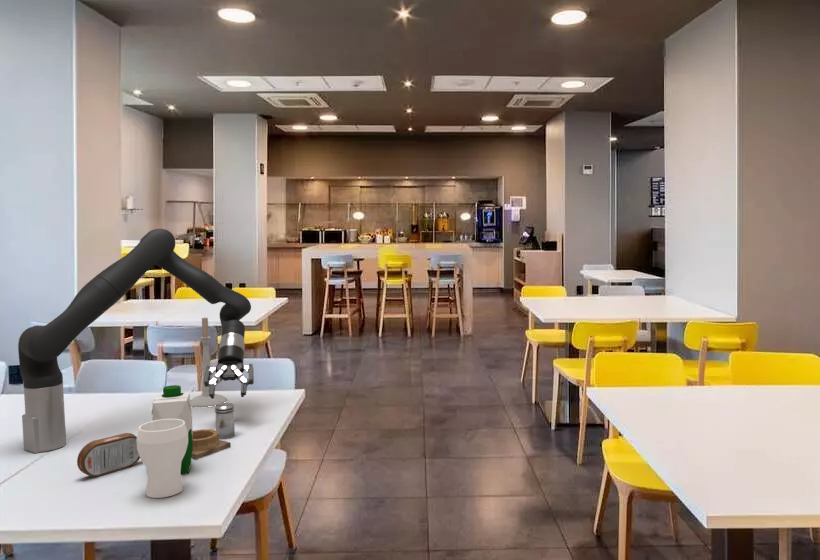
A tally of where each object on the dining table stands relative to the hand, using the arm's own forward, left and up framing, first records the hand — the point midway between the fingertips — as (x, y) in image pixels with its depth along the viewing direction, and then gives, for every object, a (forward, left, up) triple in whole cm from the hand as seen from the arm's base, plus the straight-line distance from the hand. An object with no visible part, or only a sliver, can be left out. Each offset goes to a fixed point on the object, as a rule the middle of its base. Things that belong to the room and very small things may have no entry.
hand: (227, 396), depth 179 cm
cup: (-37, -23, -10) cm, 45 cm away
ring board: (-15, -7, -10) cm, 20 cm away
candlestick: (+18, +31, -10) cm, 37 cm away
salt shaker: (-4, -4, -10) cm, 12 cm away
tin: (-36, -1, -10) cm, 38 cm away
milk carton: (-28, -14, -10) cm, 33 cm away
